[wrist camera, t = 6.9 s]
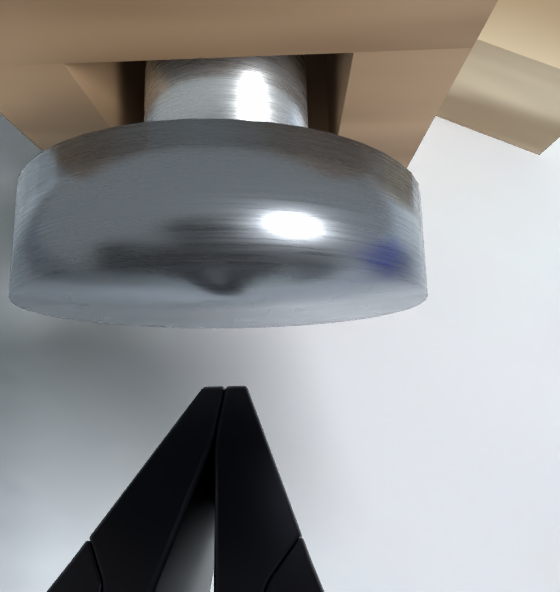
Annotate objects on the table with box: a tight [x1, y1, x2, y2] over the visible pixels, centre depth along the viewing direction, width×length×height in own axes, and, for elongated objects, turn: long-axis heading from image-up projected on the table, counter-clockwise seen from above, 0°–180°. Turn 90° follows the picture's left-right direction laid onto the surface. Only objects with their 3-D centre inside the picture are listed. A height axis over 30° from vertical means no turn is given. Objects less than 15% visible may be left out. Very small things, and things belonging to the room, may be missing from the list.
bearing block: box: [0, 0, 498, 169], centre depth 12 cm, size 7×9×10 cm
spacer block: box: [435, 0, 560, 155], centre depth 15 cm, size 4×4×4 cm
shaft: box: [9, 54, 428, 328], centre depth 11 cm, size 12×8×8 cm, turn 1°
